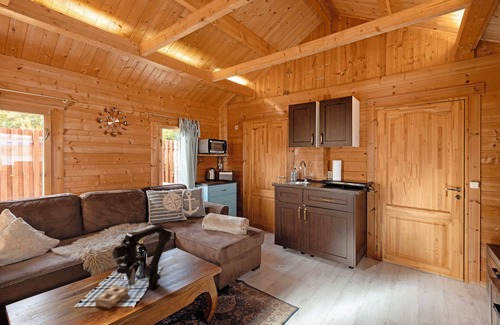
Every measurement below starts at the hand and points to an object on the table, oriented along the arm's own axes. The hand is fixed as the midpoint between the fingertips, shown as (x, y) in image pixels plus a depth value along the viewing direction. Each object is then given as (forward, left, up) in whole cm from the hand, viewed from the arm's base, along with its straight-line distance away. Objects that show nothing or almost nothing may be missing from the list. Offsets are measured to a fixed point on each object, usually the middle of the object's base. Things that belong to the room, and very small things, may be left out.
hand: (131, 277), depth 153 cm
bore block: (+5, -10, -13) cm, 17 cm away
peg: (0, 0, -4) cm, 4 cm away
